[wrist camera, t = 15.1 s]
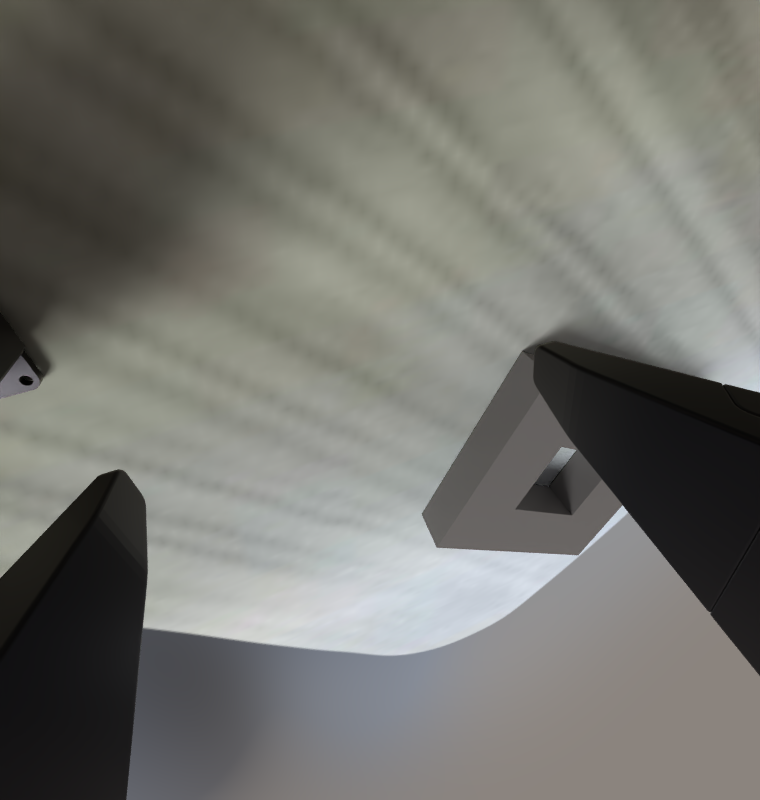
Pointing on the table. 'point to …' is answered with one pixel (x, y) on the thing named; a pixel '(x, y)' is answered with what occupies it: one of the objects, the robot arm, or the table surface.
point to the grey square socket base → (518, 481)
